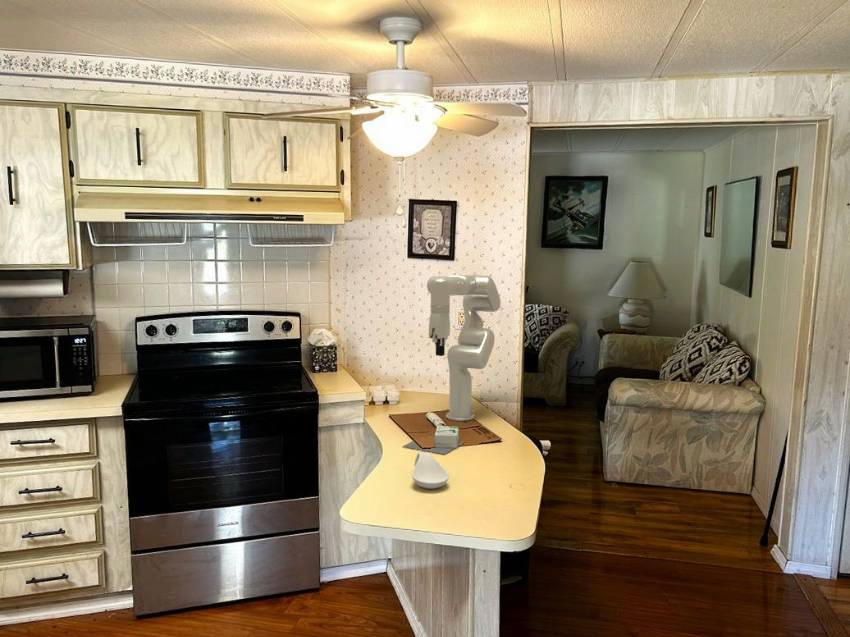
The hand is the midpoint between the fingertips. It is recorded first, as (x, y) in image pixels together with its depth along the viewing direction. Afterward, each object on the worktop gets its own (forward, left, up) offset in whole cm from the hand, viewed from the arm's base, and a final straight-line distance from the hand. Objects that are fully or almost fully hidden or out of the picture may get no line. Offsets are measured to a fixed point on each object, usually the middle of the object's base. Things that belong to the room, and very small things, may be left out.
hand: (440, 355), depth 275 cm
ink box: (+8, +8, -28) cm, 30 cm away
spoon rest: (+49, +22, -32) cm, 62 cm away
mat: (+18, +7, -31) cm, 36 cm away
